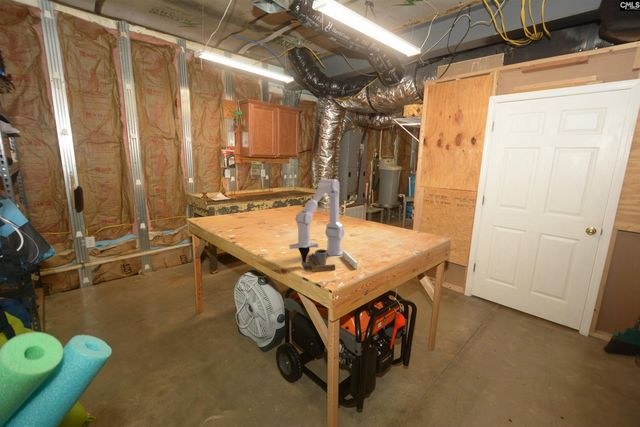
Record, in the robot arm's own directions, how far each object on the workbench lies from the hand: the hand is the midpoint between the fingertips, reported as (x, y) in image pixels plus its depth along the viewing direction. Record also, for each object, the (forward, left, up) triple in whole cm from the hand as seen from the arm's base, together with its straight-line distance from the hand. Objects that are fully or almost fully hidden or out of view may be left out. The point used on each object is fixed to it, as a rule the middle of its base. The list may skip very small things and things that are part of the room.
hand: (303, 261), depth 143 cm
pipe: (-1, +8, -3) cm, 8 cm away
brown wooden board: (0, +9, -2) cm, 9 cm away
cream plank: (0, +25, -2) cm, 25 cm away
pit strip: (0, +2, -2) cm, 3 cm away
